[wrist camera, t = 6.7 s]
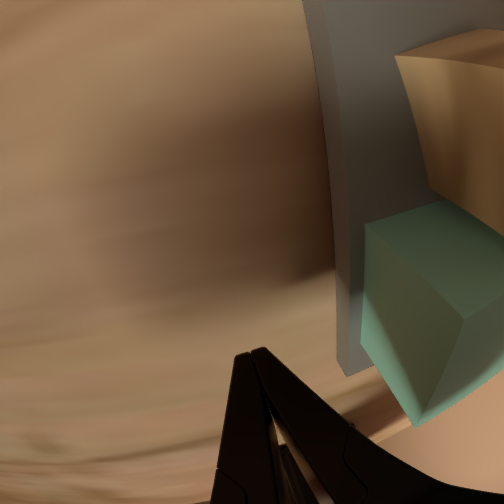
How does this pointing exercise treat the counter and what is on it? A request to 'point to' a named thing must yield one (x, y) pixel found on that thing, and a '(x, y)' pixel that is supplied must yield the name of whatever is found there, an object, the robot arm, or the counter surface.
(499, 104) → the oak cube
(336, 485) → the robot arm
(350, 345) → the board
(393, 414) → the counter surface
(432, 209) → the green cube
